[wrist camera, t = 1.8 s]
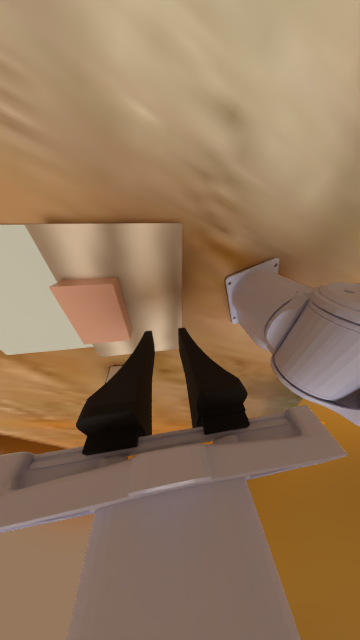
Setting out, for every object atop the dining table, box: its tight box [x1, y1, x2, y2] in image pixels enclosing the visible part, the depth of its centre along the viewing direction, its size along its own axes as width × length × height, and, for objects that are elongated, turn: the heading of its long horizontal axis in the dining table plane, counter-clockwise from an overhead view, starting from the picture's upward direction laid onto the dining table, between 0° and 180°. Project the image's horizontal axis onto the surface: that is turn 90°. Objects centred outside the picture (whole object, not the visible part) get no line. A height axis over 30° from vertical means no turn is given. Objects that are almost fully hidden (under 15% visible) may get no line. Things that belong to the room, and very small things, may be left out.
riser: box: [24, 223, 182, 357], centre depth 19 cm, size 14×18×3 cm
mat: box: [0, 225, 94, 355], centre depth 18 cm, size 16×18×1 cm
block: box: [49, 278, 133, 344], centre depth 16 cm, size 6×8×2 cm
